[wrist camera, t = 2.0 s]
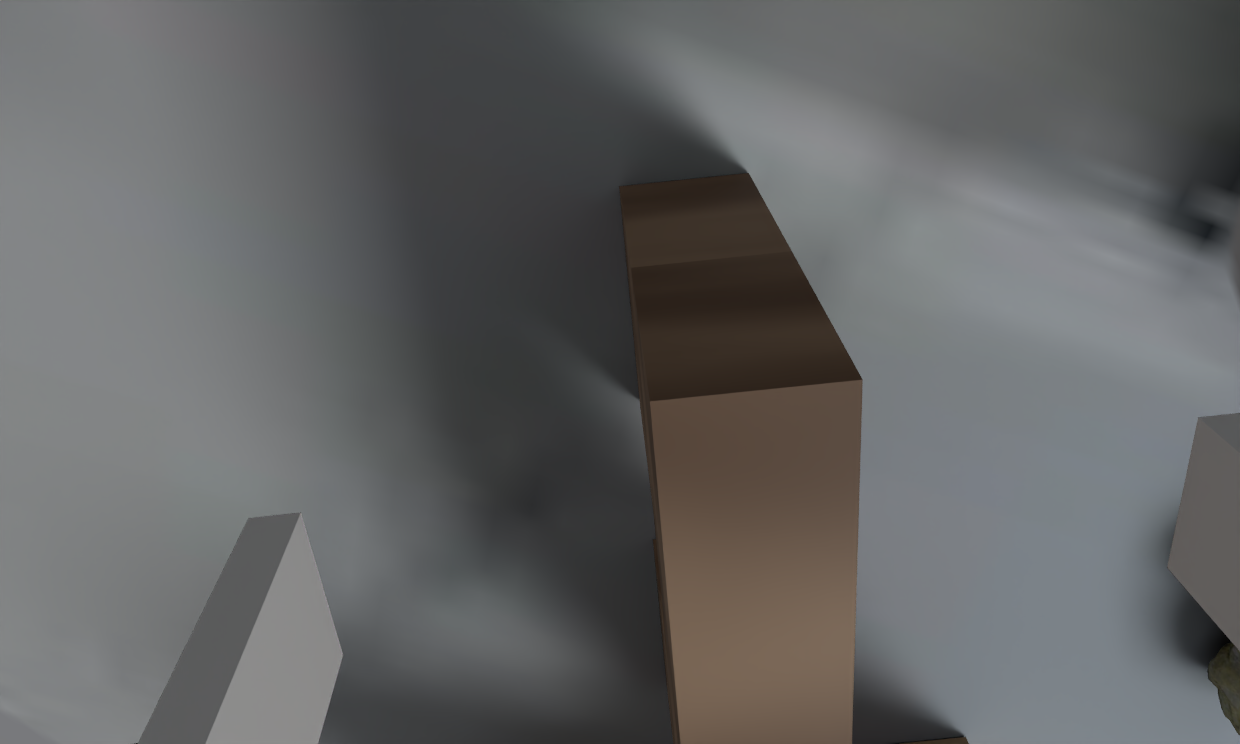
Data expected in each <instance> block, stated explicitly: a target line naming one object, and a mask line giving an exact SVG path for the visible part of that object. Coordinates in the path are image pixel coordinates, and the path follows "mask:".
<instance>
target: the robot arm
mask: <svg viewBox="0 0 1240 744" xmlns="http://www.w3.org/2000/svg"><path fill="white" fill-rule="evenodd" d="M1167 568H1168V569H1169V570H1170V571H1171V573H1172V574H1173V575H1174V576H1175V577H1176V578H1177V579H1178V581H1179V582H1180V583H1181V584H1182V585H1183V586H1184V588H1185V589H1186V590H1187V591H1188V592H1189V593H1190V594H1191V596H1192V597H1193V598H1194V599H1195V600H1196V601H1197V603H1198V604H1199V605H1200V606H1201V607H1202V608H1203V609H1204V611H1205V612H1206V613H1207V614H1208V615H1209V616H1210V618H1211V619H1212V620H1213V621H1214V622H1215V623H1216V624H1217V626H1218V627H1219V628H1220V629H1221V630H1222V631H1223V633H1224V634H1225V635H1226V636H1227V637H1228V638H1229V639H1230V641H1231V642H1232V643H1233V644H1234V645H1235V646H1236V648H1237V649H1238V650H1239V651H1240V413H1235V414H1226V415H1216V416H1207V417H1198V421H1197V426H1196V431H1195V435H1194V440H1193V445H1192V450H1191V455H1190V460H1189V464H1188V469H1187V474H1186V479H1185V484H1184V489H1183V493H1182V498H1181V503H1180V508H1179V513H1178V518H1177V522H1176V527H1175V532H1174V537H1173V542H1172V547H1171V551H1170V556H1169V561H1168V566H1167ZM342 657H343V653H342V650H341V646H340V643H339V639H338V636H337V633H336V629H335V626H334V623H333V619H332V616H331V612H330V609H329V606H328V602H327V599H326V596H325V592H324V589H323V585H322V582H321V579H320V575H319V572H318V569H317V565H316V562H315V558H314V555H313V552H312V548H311V545H310V541H309V538H308V535H307V531H306V528H305V525H304V521H303V518H302V514H301V513H292V514H283V515H273V516H264V517H254V518H248V520H247V522H246V524H245V526H244V528H243V530H242V532H241V534H240V536H239V538H238V540H237V543H236V545H235V547H234V549H233V551H232V553H231V555H230V557H229V559H228V561H227V563H226V565H225V567H224V569H223V571H222V573H221V575H220V577H219V579H218V581H217V583H216V585H215V587H214V589H213V591H212V593H211V595H210V598H209V600H208V602H207V604H206V606H205V608H204V610H203V612H202V614H201V616H200V618H199V620H198V622H197V624H196V626H195V628H194V630H193V632H192V634H191V636H190V638H189V640H188V642H187V644H186V646H185V648H184V650H183V653H182V655H181V657H180V659H179V661H178V663H177V665H176V667H175V669H174V671H173V673H172V675H171V677H170V679H169V681H168V683H167V685H166V687H165V689H164V691H163V693H162V695H161V697H160V699H159V701H158V703H157V705H156V708H155V710H154V712H153V714H152V716H151V718H150V720H149V722H148V724H147V726H146V728H145V730H144V732H143V734H142V736H141V738H140V740H139V742H138V743H136V744H318V742H319V739H320V735H321V731H322V728H323V724H324V721H325V717H326V714H327V710H328V707H329V703H330V700H331V696H332V693H333V689H334V686H335V682H336V679H337V675H338V672H339V668H340V665H341V661H342Z"/></svg>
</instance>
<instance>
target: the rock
mask: <svg viewBox="0 0 1240 744" xmlns="http://www.w3.org/2000/svg"><path fill="white" fill-rule="evenodd" d="M1207 672H1208V679H1209V680H1210V681H1211V682H1212V683H1213V684H1214V685H1215V686H1216V687H1217V688H1218V695H1219V700H1220V704H1221V708H1222V710H1223V713H1224V715H1225V717H1227V718H1228V719H1229V720H1230V721H1231V723H1232V725H1233V726H1234V728H1235V730H1236V731H1237V733H1238V734H1239V735H1240V651H1239V650H1238V649H1237V648H1236V646H1235V645H1234V644H1233V643H1232V642H1231V641H1230V643H1227V644H1225V645H1224V646H1223V647H1221V649H1220V650H1219V652H1218V654H1217V655H1216V657H1215V658H1213V659H1212V660H1211V661H1210V663H1209V665H1208V671H1207Z"/></svg>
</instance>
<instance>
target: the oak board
mask: <svg viewBox="0 0 1240 744" xmlns="http://www.w3.org/2000/svg"><path fill="white" fill-rule="evenodd" d="M901 744H969V743H968V741H967V739H966V737H960V738H950V739H940V740H930V741H921V742H911V743H901Z"/></svg>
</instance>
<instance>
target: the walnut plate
mask: <svg viewBox="0 0 1240 744" xmlns="http://www.w3.org/2000/svg"><path fill="white" fill-rule="evenodd" d="M619 189H620V200H621V210H622V221H623V231H624V242H625V252H626V263H627V273H628V284H629V294H630V305H631V315H632V326H633V336H634V347H635V357H636V368H637V378H638V389H639V399H640V408H641V416H642V424H643V432H644V440H645V448H646V456H647V464H648V472H649V480H650V488H651V496H652V504H653V512H654V521H655V532H656V539H654V540H653V546H654V556H655V567H656V577H657V588H658V598H659V609H660V619H661V630H662V640H663V651H664V661H665V672H666V682H667V692H668V700H669V709H670V718H671V727H672V735H673V744H852V722H853V688H854V654H855V619H856V585H857V551H858V517H859V483H860V448H861V414H862V378H861V376H860V374H859V372H858V371H857V369H856V367H855V365H854V363H853V362H852V360H851V358H850V356H849V354H848V353H847V351H846V349H845V347H844V345H843V343H842V342H841V340H840V338H839V336H838V334H837V333H836V331H835V329H834V327H833V325H832V323H831V322H830V320H829V318H828V316H827V314H826V313H825V311H824V309H823V307H822V305H821V304H820V302H819V300H818V298H817V296H816V294H815V293H814V291H813V289H812V287H811V285H810V284H809V282H808V280H807V278H806V276H805V275H804V273H803V271H802V269H801V267H800V265H799V264H798V262H797V260H796V258H795V256H794V255H793V253H792V251H791V249H790V247H789V246H788V244H787V242H786V240H785V238H784V236H783V235H782V233H781V231H780V229H779V227H778V226H777V224H776V222H775V220H774V218H773V216H772V215H771V213H770V211H769V209H768V207H767V206H766V204H765V202H764V200H763V198H762V197H761V195H760V193H759V191H758V189H757V187H756V186H755V184H754V182H753V180H752V178H751V177H750V175H749V173H744V174H734V175H724V176H715V177H705V178H695V179H686V180H676V181H666V182H657V183H647V184H637V185H627V186H619Z"/></svg>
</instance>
